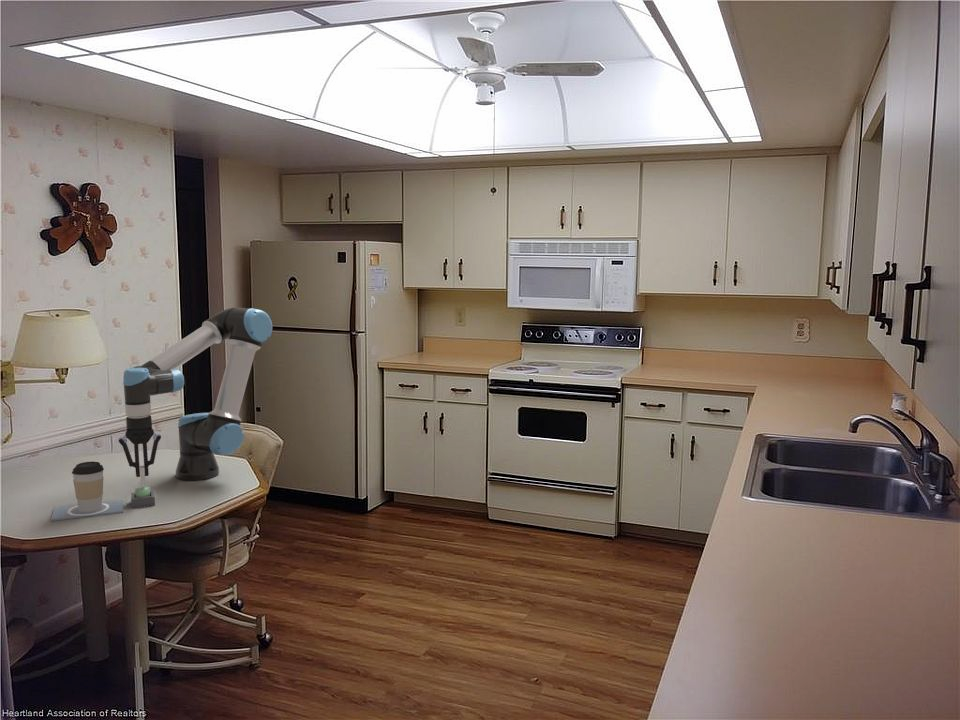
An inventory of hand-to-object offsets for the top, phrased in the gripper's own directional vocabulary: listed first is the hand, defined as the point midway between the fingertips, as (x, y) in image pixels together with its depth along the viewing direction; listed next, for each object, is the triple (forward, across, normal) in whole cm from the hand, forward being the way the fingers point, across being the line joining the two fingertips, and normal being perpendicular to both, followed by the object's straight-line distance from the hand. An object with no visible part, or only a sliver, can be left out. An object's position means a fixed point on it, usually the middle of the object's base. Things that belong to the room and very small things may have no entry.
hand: (143, 485), depth 247 cm
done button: (+5, 0, 0) cm, 5 cm away
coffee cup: (+5, +16, +1) cm, 17 cm away
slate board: (+6, +16, +1) cm, 17 cm away
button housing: (+6, 0, 0) cm, 6 cm away
